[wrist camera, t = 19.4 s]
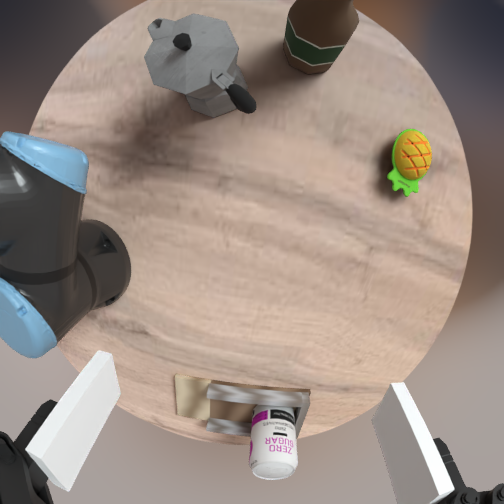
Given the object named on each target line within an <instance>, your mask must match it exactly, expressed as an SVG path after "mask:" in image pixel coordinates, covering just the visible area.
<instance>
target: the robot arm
mask: <svg viewBox="0 0 504 504" xmlns="http://www.w3.org/2000/svg"><path fill="white" fill-rule="evenodd" d="M88 167H89V162H88V158H87V156H86V155H85V153H84V152H83V151H81V150H79V149H77V148H74V147H71V146H68V145H65V144H61V143H58V142H54V141H50V140H47V139H43V138H39V137H34V136H30V135H25V134H20V133H13V132H4V133H3V135H2V137H1V138H0V337H1V338H2V339H3V340H4V341H5V342H6V343H7V344H8V345H9V346H10V347H11V348H12V349H13V350H15V351H16V352H18V353H19V354H21V355H23V356H25V357H28V358H38V357H41V356H43V355H44V354H45V353H46V352H48V351H49V350H50V349H51V348H54V347H55V346H56V345H57V343H58V342H59V341H60V340H61V339H62V338H63V337H64V335H65V334H66V333H67V332H68V331H69V330H70V329H71V328H72V327H74V326H75V325H76V324H77V323H78V322H79V321H80V320H81V319H82V318H83V317H84V316H85V315H86V314H87V313H88V312H89V311H90V310H94V309H97V308H101V307H104V306H108V305H110V304H112V303H113V302H115V301H116V300H117V299H118V298H119V297H120V296H121V295H122V294H123V293H124V292H125V291H126V289H127V287H128V285H129V282H130V277H131V263H130V258H129V255H128V252H127V249H126V247H125V245H124V243H123V241H122V240H121V238H120V237H119V236H118V234H117V233H116V232H115V231H114V230H113V229H112V228H110V227H109V226H108V225H106V224H104V223H102V222H100V221H97V220H83V221H81V216H82V209H83V203H84V197H85V194H86V192H87V190H86V180H87V173H88ZM120 395H121V392H120V388H119V384H118V380H117V375H116V371H115V366H114V361H113V356H112V354H111V353H107V352H104V351H100V350H98V351H97V353H96V354H95V355H94V356H93V358H92V359H91V360H90V361H89V363H88V364H87V365H86V366H85V368H84V369H83V370H82V372H81V373H80V374H79V376H78V377H77V378H76V379H75V381H74V382H73V383H72V385H71V386H70V387H69V389H68V390H67V391H66V393H65V394H64V395H63V397H62V398H61V399H60V401H59V402H55V401H53V400H49V401H47V402H45V403H44V404H42V405H41V406H40V408H39V409H38V410H37V412H36V414H34V416H33V417H32V418H31V421H29V422H28V424H27V425H26V426H25V428H24V429H23V430H22V432H21V433H20V435H19V436H18V437H17V439H16V441H14V442H13V441H12V440H11V439H10V437H9V436H8V435H7V434H6V433H4V432H1V431H0V504H53V501H52V497H51V494H50V491H49V488H48V485H47V483H46V482H47V480H48V478H49V479H50V480H51V481H52V483H53V484H54V485H56V486H58V487H60V488H62V489H64V490H66V491H68V492H69V491H70V489H71V487H72V485H73V483H74V481H75V479H76V477H77V475H78V473H79V471H80V469H81V467H82V465H83V463H84V461H85V459H86V457H87V455H88V453H89V451H90V449H91V448H92V446H93V444H94V442H95V440H96V438H97V437H98V435H99V433H100V431H101V429H102V427H103V425H104V424H105V422H106V420H107V418H108V416H109V414H110V413H111V410H112V409H113V407H114V405H115V404H116V402H117V400H118V398H119V397H120ZM372 423H373V425H374V429H375V432H376V435H377V438H378V441H379V444H380V447H381V450H382V453H383V457H384V459H385V462H386V466H387V469H388V473H389V476H390V479H391V483H392V486H393V490H394V493H395V497H396V500H397V504H504V484H503V483H502V484H499V485H497V486H496V487H495V488H494V489H493V490H491V491H483V492H477V491H476V490H475V489H473V488H470V487H466V486H465V484H464V482H463V480H462V478H461V475H460V473H459V471H458V469H457V466H456V464H455V462H453V458H452V456H451V455H450V451H449V450H448V447H447V445H446V444H445V443H444V442H443V441H442V440H441V439H440V438H436V439H432V437H431V435H430V433H429V431H428V429H427V427H426V425H425V423H424V420H423V418H422V417H421V414H420V413H419V411H418V409H417V407H416V405H415V403H414V401H413V399H412V397H411V395H410V393H409V391H408V389H407V387H406V386H405V384H404V383H403V382H402V383H391V384H390V386H389V388H388V390H387V392H386V394H385V396H384V398H383V400H382V402H381V404H380V405H379V407H378V409H377V411H376V413H375V415H374V417H373V418H372Z"/></svg>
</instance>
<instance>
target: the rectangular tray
mask: <svg viewBox="0 0 504 504" xmlns="http://www.w3.org/2000/svg"><path fill="white" fill-rule="evenodd" d="M175 390H176V402H177V412H178V415H179V416H184V417H189V418H195V419H201V420H207V421H208V423H207V428H206V431H210V432H216V433H224V434H231V435H240V436H250V437H251V428H252V414H253V409H254V408H255V407H256V406H257V405H269V406H284V407H292V408H293V411H294V418H295V430H296V439H297V437H298V435H299V432H300V430H301V427H302V425H303V422H304V419H305V417H306V414H307V411H308V408H309V406H310V398H309V396H310V393H311V392H310V389H295V388H279V387H267V386H256V385H246V384H238V383H230V382H222V381H215V380H209V379H202V378H196V377H191V376H185V375H180V374H176V375H175Z"/></svg>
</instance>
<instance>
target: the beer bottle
mask: <svg viewBox="0 0 504 504" xmlns="http://www.w3.org/2000/svg"><path fill="white" fill-rule="evenodd" d="M358 23H359V18H358V14H357V12H356V10H355V8H354V6H353V0H296V1H295V3H294V4H293V5H292V7H291V8H290V10H289V13H288V17H287V24H286V31H285V38H284V51H285V54H286V56H287V59H288V62H289V64H290V65H291V66H293V67H295V68H297V69H298V70H300V71H302V72H304V73H306V74H313V73H319V72H325V71H327V70H328V69H329V68H330V67H331V65H332V64H333V63H334V61H335V60H336V58H337V57H338V55H339V54H340V52H341V51H342V50H343V48H344V47H345V45H346V44H347V42H348V40H349V39H350V37H351V36H352V34H353V32H354V31H355V29H356V27H357V25H358Z"/></svg>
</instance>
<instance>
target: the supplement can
mask: <svg viewBox="0 0 504 504" xmlns="http://www.w3.org/2000/svg"><path fill="white" fill-rule="evenodd" d="M296 444H297V443H296V430H295V418H294V411H293V408H292V407H284V406H269V405H257V406H256V407H255V408H254V409H253V414H252V428H251V443H250V457H249V466H250V468H251V469H252V472H253V474H254V475H255V476H257V477H259V478H262V479H268V480H277V479H283V478H286V477H289V476H290V475H292V474H293V473H294V471H295V468H296V466H297V464H298V457H297V445H296Z"/></svg>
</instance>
